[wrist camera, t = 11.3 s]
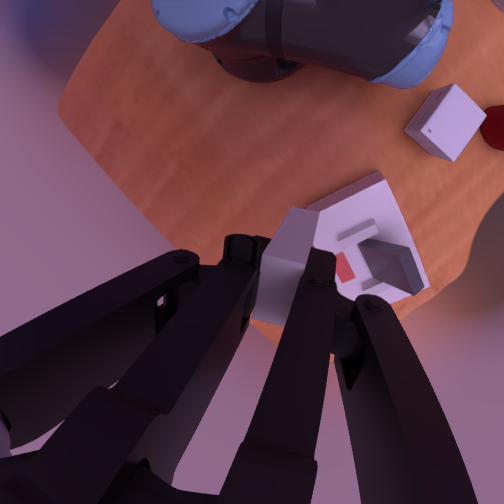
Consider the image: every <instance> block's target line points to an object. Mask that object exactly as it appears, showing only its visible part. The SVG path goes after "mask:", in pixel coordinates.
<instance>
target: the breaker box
mask: <svg viewBox="0 0 504 504" xmlns="http://www.w3.org/2000/svg"><path fill="white" fill-rule="evenodd" d="M306 209H307V210H312V211H316V212H320V214H319V218H318V223H317V228H316V232H315V237H314V241H313V245H314V246H315V248H317V249H321V250H325V251H329V252H333V253H334V255H335V256H336V258H337V262H336V275H335V282H336V284H337V289H338V291H339V293H340V294H341V295H343V296H344V297H346V298H348V299H351V300H353V301H355V299H356V297H357V296H358V295H361V294H371V295H377V296H378V297H381V298H383V299H384V300H385V301H387V302H388V303H389V304H391V303H394V302H396V301H398V300H401V299H403V298H405V297H408V296H410V295H411V294H409V293H407V292H404V291H402V290H400V289H397V288H395V287H393V286H391V285H388V284H386V283H384V282H382V281H379V280H377V279H375V278H373V276H372V274H371V272H370V270H369V268H368V266H367V264H366V261H365V259H364V257H363V255H362V253H361V251H360V249H359V247H358V243H359V242H361V241H363V240H365V239H367V238H369V239H374V240H379V241H383V242H388V243H393V244H397V245H402V246H406V247H410V250H411V252H412V255H413V257H414V260H415V262H416V265H417V268H418V270H419V273H420V276H421V278H422V281H423V284H424V288H423V289H426V288H428V287H430V285H429V282H428V279H427V276H426V274H425V271H424V268H423V265H422V263H421V260H420V257H419V255H418V252H417V250H416V247H415V245H414V242H413V240H412V237H411V235H410V232H409V230H408V228H407V225H406V223H405V220H404V218H403V216H402V214H401V211H400V209H399V207H398V205H397V202H396V200H395V198H394V196H393V194H392V192H391V190H390V187H389V185H388V183H387V181H386V179H385V178H384V177H383V175H382V174H381V173H380V172H379V170H377V171H375V172H373V173H371V174H369V175H367V176H365V177H363V178H361V179H359V180H357V181H355V182H353V183H351V184H349V185H347V186H345V187H343V188H341V189H339V190H337V191H335V192H333V193H331V194H330V195H328V196H326V197H324V198H322V199H320V200H318V201H316V202H314V203H312V204H310V205H308V206H307V208H306ZM423 289H422V290H423Z"/></svg>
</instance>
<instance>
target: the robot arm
mask: <svg viewBox="0 0 504 504" xmlns="http://www.w3.org/2000/svg"><path fill="white" fill-rule="evenodd" d="M152 9H153V12H154V15H155V16H156V19H157V20H158V21H159V23H160V24H161V25H162V27H164V28H165V29H166V30H167V31H169V32H171V33H172V34H173V35H175V36H176V37H177V38H180V40H182V41H187V42H189V43H193V44H196V45H198V46H200V47H202V48H205V49H207V50H209V51H211V52H212V53H213V55H214V57H215V59H216V60H217V62H218V63H219V64H220V65H221V66H222V67H223V68H224V69H225V70H226V71H227V72H229V73H230V74H232V75H234V76H236V77H238V78H241V79H243V80H246V81H250V82H257V83H267V82H274V81H278V80H281V79H284V78H286V77H288V76H290V75H292V74H293V73H295V72H296V71H297V70H299V69H300V68H301V67H302V66H303V65H304V64H305V63H306V64H311V65H315V66H319V67H323V68H328V69H332V70H335V71H339V72H343V73H347V74H350V75H354V76H357V77H361V78H364V80H366V81H367V82H370V83H372V82H373V83H381V84H385V85H388V86H392V87H395V88H399V89H408V88H413V87H415V86H417V85H419V84H420V83H421V82H422V81H424V80H425V79H426V78H427V76H428V75H429V74H430V73H431V72H432V70H433V69H434V67H435V66H436V64H437V62H438V61H439V59H440V57H441V55H442V53H443V51H444V49H445V47H446V44H447V41H448V38H447V34H448V33H449V31H450V30H451V28H452V24H453V19H454V7H453V3H452V1H451V0H152ZM319 214H320V212H316V211H312V210H307V209H303V208H298V207H293V206H292V207H291V209H290V210H289V212H288V214H287V215H286V217H285V218H284V220H283V222H282V223H281V225H280V227H279V228H278V230H277V231H276V233H275V235H274V236H273V238H272V239H270V238H266V237H261V236H257V235H256V236H250V235H245V234H232V235H228V236H226V237H225V241H224V250H223V258H222V260H221V261H220V262H219V263H218V264H217V265H200V264H199V260H200V258H199V256H198V255H197V254H195V253H194V252H191V251H188V250H183V249H179V250H174V251H170V252H167V253H165V254H163V255H161V256H159V257H157V258H155V259H152V260H150V261H148V262H146V263H144V264H142V265H140V266H138V267H136V268H134V269H132V270H129V271H127V272H125V273H123V274H121V275H119V276H117V277H115V278H113V279H111V280H109V281H107V282H105V283H103V284H101V285H99V286H97V287H95V288H93V289H91V290H89V291H87V292H85V293H83V294H81V295H79V296H77V297H75V298H73V299H71V300H69V301H67V302H65V303H63V304H61V305H59V306H57V307H55V308H54V309H52V310H50V311H48V312H46V313H44V314H42V315H40V316H38V317H37V318H34V319H33V320H31V321H29V322H27V323H25V324H23V325H21V326H19V327H18V328H16V329H14V330H12V331H10V332H8V333H6V334H4V335H3V336H1V337H0V504H310V503H311V499H312V494H313V489H314V485H315V479H316V474H317V467H318V466H317V461H315V460H314V454H315V448H316V443H317V437H318V432H319V426H320V420H321V414H322V408H323V402H324V396H325V389H326V382H327V375H328V368H329V360H330V353H332V354H334V355H335V356H334V364H335V368H336V372H337V377H338V381H339V386H340V391H341V396H342V401H343V405H344V410H345V415H346V420H347V425H348V430H349V435H350V441H351V446H352V451H353V456H354V462H355V468H356V474H357V479H358V485H359V492H360V498H361V504H478V502H477V499H476V496H475V493H474V490H473V487H472V484H471V481H470V478H469V475H468V473H467V470H466V467H465V464H464V462H463V459H462V456H461V454H460V451H459V448H458V446H457V443H456V441H455V438H454V436H453V434H452V431H451V429H450V426H449V424H448V421H447V419H446V417H445V414H444V412H443V410H442V408H441V405H440V403H439V401H438V399H437V396H436V394H435V392H434V390H433V388H432V386H431V383H430V381H429V379H428V377H427V375H426V373H425V371H424V369H423V367H422V365H421V363H420V361H419V359H418V356H417V354H416V352H415V351H414V349H413V347H412V345H411V343H410V341H409V339H408V337H407V335H406V333H405V331H404V330H403V327H402V326H401V324H400V322H399V320H398V318H397V316H396V314H395V312H394V311H393V309H392V307H391V305H390V304H389V303H388V302H387V301H385V300H384V299H383V298H381V297H378V296H377V295H371V294H361V295H358V296H357V297H356V299H355V301H353V300H351V299H348V298H346V297H344V296H343V295H341V294H340V293H339V292H338V291H337V284H336V282H335V275H336V262H337V258H336V256H335V255H334V253H333V252H329V251H325V250H321V249H317V248H313V247H312V246H313V241H314V237H315V232H316V228H317V223H318V218H319ZM162 296H163V304H161V305H160V306H158V305H157V301H158V300H159V299H160V298H161V297H162ZM253 308H254V309H253ZM252 310H253V315H252V318H253V319H257V320H261V321H265V322H268V323H272V324H276V325H280V326H284V330H283V333H282V336H281V339H280V342H279V345H278V348H277V351H276V354H275V357H274V359H273V362H272V365H271V368H270V371H269V374H268V377H267V380H266V382H265V385H264V388H263V391H262V393H261V396H260V399H259V402H258V404H257V407H256V410H255V412H254V415H253V418H252V421H251V423H250V426H249V428H248V431H247V433H246V436H245V438H244V441H243V442H242V443H241V444H240V446H239V448H238V451H237V453H236V455H235V458H234V460H233V463H232V465H231V468H230V470H229V473H228V475H227V477H226V480H225V482H224V485H223V487H222V489H221V491H220V494H219V495H212V494H203V493H195V492H189V491H182V490H178V489H176V488H174V487H172V486H171V484H172V480H173V476H174V472H175V469H176V467H177V465H178V463H179V461H180V459H181V457H182V456H183V453H184V452H185V450H186V448H187V446H188V444H189V442H190V440H191V438H192V436H193V435H194V433H195V431H196V429H197V427H198V425H199V423H200V421H201V419H202V417H203V415H204V413H205V411H206V410H207V408H208V406H209V404H210V402H211V400H212V398H213V396H214V394H215V391H216V390H217V388H218V386H219V384H220V382H221V380H222V378H223V376H224V374H225V372H226V370H227V368H228V366H229V364H230V362H231V360H232V358H233V356H234V354H235V352H236V350H237V348H238V346H239V344H240V342H241V340H242V338H243V336H244V334H245V332H246V330H247V327H248V326H249V320H250V314H251V312H252ZM118 380H119V381H118ZM117 381H118V382H117ZM116 382H117V383H116ZM114 383H116V385H114V386H113V387H112V388H110V389H108V388H109V387H110V386H111V385H113V384H114ZM63 420H64V422H63V423H62V424H61V425H60V426H59V427H58V429H57V430H56V431H55V432H54V433H53V434H52V436H51V437H50V438H49V439H48V440H47V441H46V443H45V444H44V445H43V446H42V447H41V449H40V450H36V451H32V452H28V453H23V454H19V455H14V456H12V454H11V452H10V451H9V450H11V449H14V448H17V447H20V446H23V445H25V444H27V443H29V442H31V441H33V440H35V439H37V438H39V437H40V436H42V435H43V434H45V433H47V432H48V431H50V430H51V429H52V428H54V427H55V426H57V425H58V424H59V423H61V422H62V421H63Z"/></svg>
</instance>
